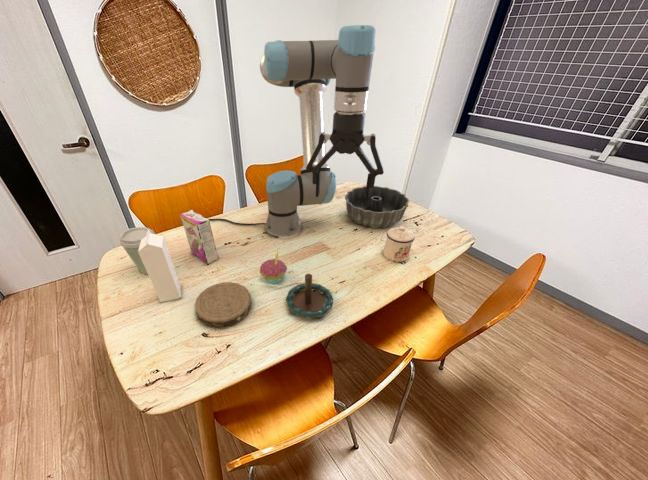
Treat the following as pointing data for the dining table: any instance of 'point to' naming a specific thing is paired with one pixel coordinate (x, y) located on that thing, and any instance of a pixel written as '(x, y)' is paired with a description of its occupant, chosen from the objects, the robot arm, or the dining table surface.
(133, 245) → the disposable coffee cup
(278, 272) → the cupcake
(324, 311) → the ring
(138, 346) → the dining table surface
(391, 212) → the bundt pan
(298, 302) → the post
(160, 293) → the milk
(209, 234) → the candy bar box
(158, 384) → the dining table surface
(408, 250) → the teacup with lid
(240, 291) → the wood slice
